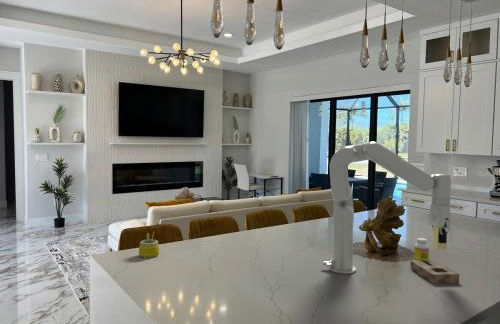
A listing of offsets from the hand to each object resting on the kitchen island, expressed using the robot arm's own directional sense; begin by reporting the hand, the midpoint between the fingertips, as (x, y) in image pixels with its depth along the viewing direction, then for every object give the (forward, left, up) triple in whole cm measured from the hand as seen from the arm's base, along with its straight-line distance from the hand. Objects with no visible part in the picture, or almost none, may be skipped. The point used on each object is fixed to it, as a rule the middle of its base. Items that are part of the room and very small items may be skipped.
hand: (439, 241), depth 172 cm
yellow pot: (-138, +43, -17) cm, 146 cm away
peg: (0, 0, -3) cm, 3 cm away
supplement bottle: (+3, +21, -17) cm, 28 cm away
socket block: (0, +4, -17) cm, 18 cm away
